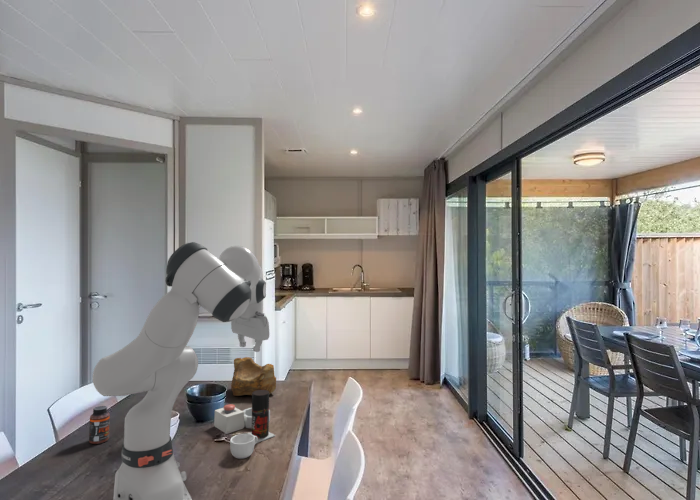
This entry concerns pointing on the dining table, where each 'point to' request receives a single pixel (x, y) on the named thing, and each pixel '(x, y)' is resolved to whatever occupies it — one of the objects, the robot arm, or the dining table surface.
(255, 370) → the rough brown rock
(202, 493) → the dining table surface
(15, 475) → the dining table surface
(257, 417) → the deodorant
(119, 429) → the dining table surface
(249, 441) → the teacup
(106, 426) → the supplement bottle
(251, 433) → the pad
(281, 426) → the dining table surface
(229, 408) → the plunger
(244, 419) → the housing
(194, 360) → the robot arm
